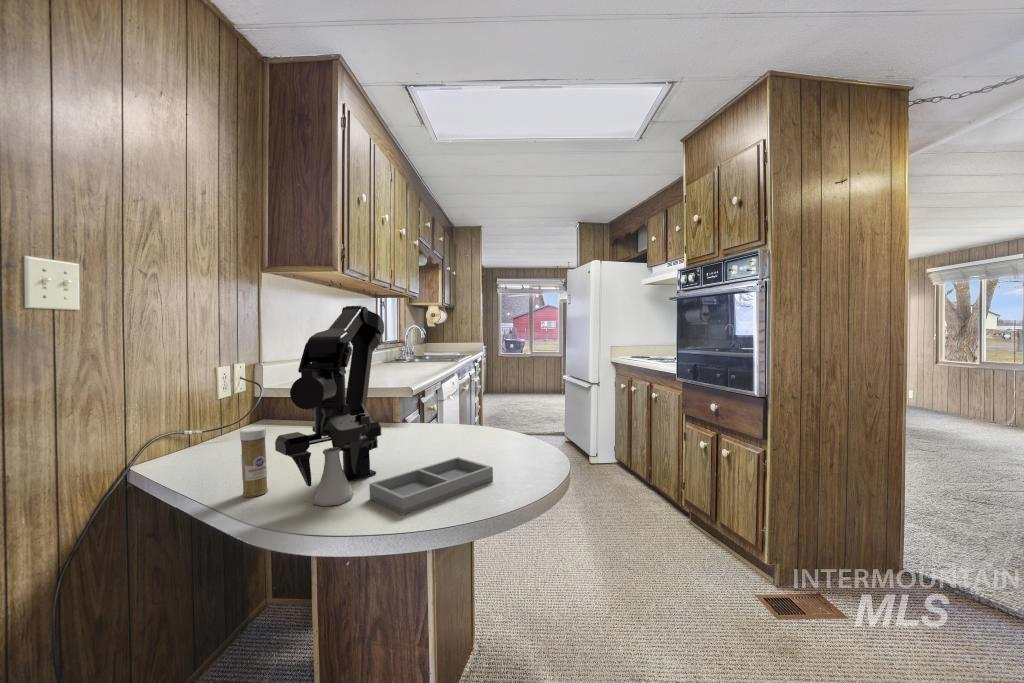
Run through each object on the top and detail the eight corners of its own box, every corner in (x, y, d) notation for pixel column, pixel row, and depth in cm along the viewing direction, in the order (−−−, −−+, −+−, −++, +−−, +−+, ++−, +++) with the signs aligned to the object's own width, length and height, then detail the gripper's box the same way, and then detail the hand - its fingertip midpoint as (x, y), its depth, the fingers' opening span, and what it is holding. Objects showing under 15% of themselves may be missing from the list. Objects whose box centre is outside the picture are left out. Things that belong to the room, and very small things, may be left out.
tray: (369, 498, 85) (369, 483, 85) (458, 469, 102) (457, 456, 102) (403, 515, 78) (402, 498, 77) (492, 480, 94) (492, 466, 94)
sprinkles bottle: (254, 498, 87) (251, 431, 86) (237, 496, 88) (234, 430, 88) (273, 490, 91) (270, 426, 91) (256, 488, 93) (253, 425, 92)
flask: (359, 493, 89) (358, 444, 88) (342, 507, 82) (340, 454, 81) (325, 492, 89) (323, 444, 89) (305, 507, 82) (303, 454, 82)
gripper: (296, 412, 73) (300, 505, 73) (394, 397, 86) (397, 475, 87) (272, 405, 80) (275, 489, 81) (366, 392, 94) (368, 464, 94)
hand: (333, 479), depth 85 cm, fingers open, 9 cm apart
